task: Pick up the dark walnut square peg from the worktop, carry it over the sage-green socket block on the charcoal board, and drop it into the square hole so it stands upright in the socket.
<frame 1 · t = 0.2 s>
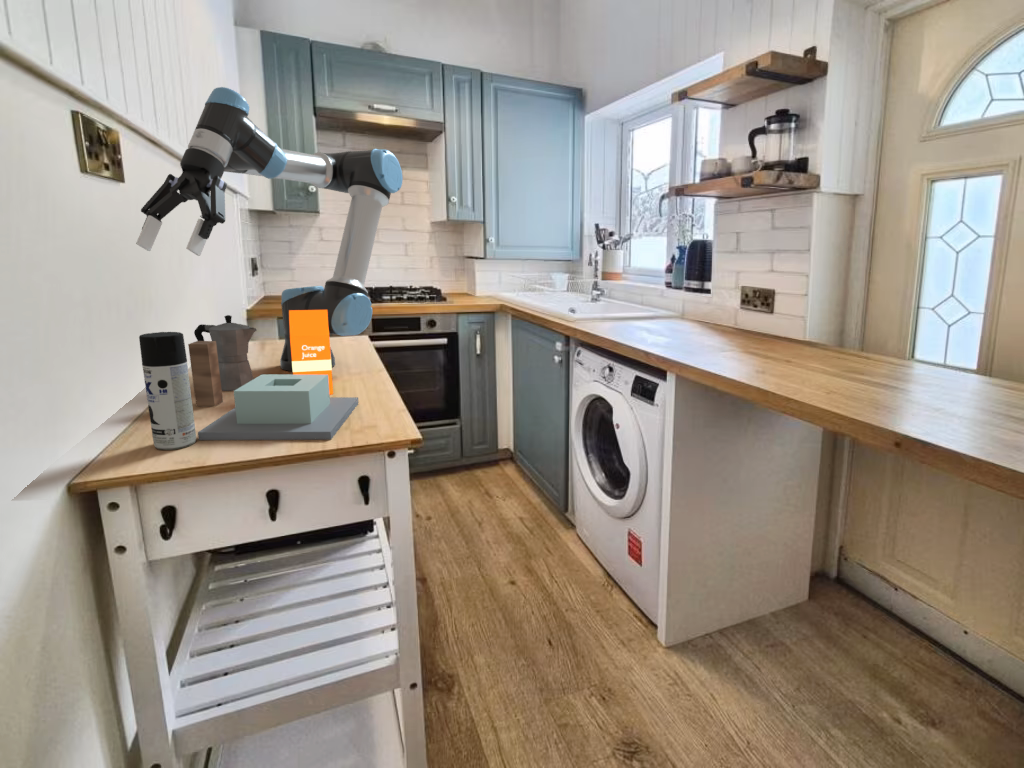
hand: (167, 249, 111), 34 cm above the counter, tool tilted 30°, fingers open, 13 cm apart
socket block: (287, 419, 115), on the counter
peg: (209, 404, 126), on the counter
orange juice: (314, 392, 138), on the counter
spray can: (176, 445, 101), on the counter
coffeepot: (231, 387, 141), on the counter
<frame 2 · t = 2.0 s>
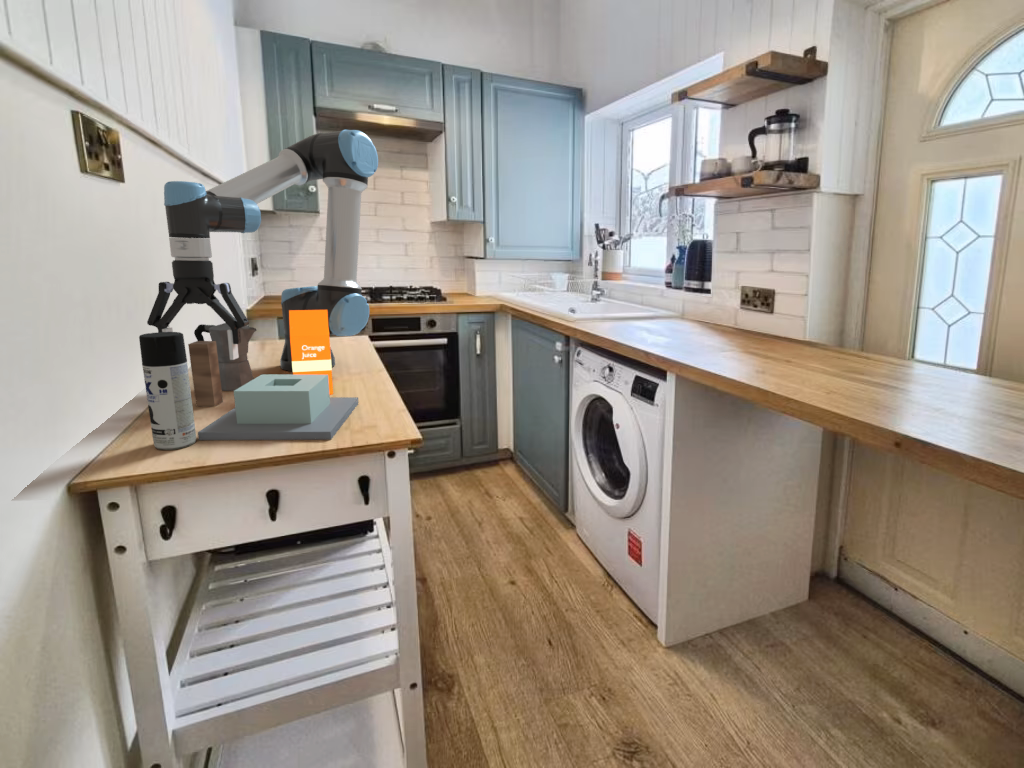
hand: (202, 358, 123), 10 cm above the counter, tool pointing down, fingers open, 13 cm apart
nothing on the counter moved.
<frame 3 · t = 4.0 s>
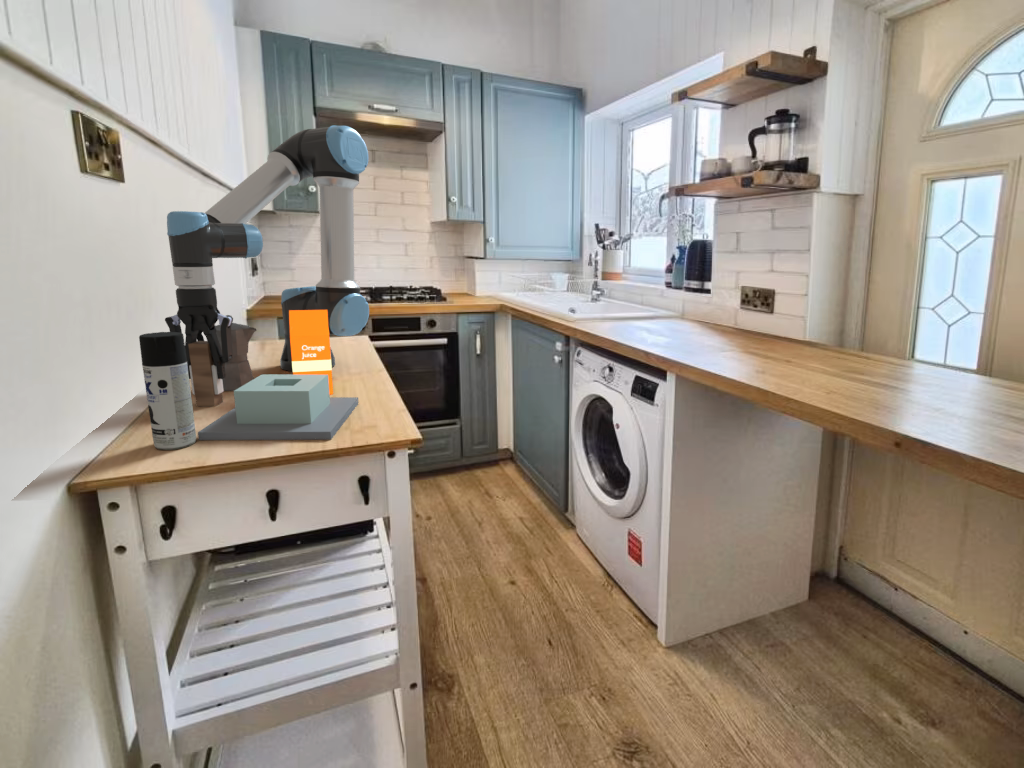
hand: (208, 392, 125), 3 cm above the counter, tool pointing down, fingers closed on peg, 4 cm apart
peg: (209, 404, 126), on the counter, touching gripper
everything else where it was.
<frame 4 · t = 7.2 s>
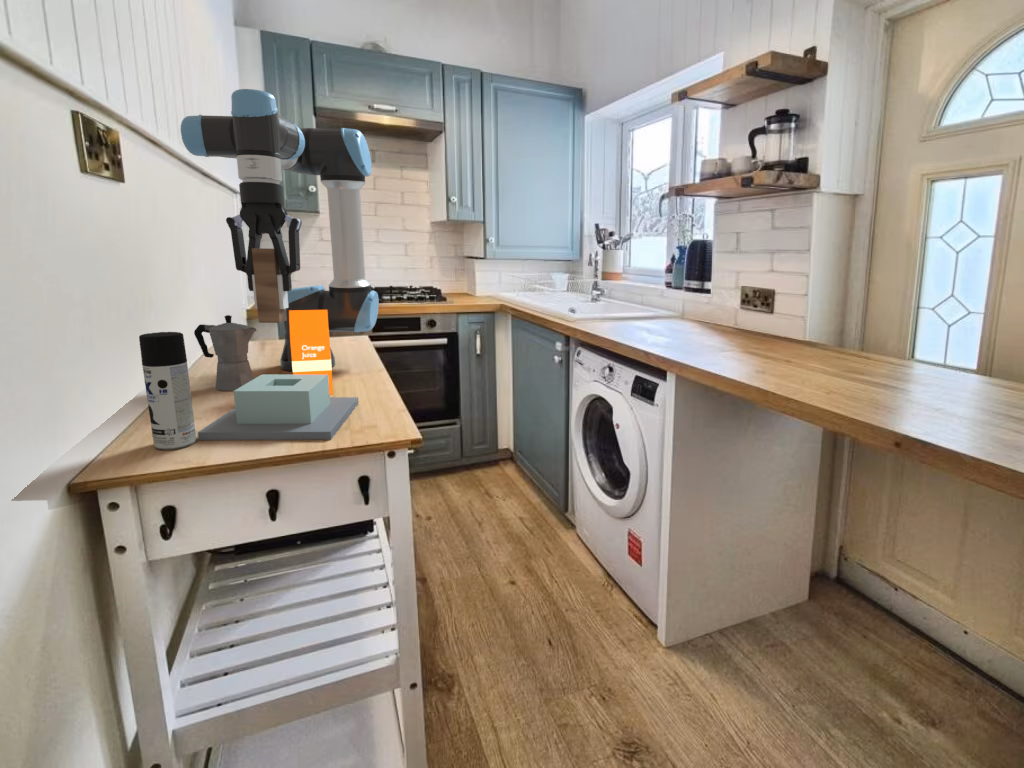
hand: (272, 307, 110), 23 cm above the counter, tool pointing down, fingers closed on peg, 4 cm apart
peg: (273, 321, 111), point 20 cm above the counter, touching gripper
everything else where it was.
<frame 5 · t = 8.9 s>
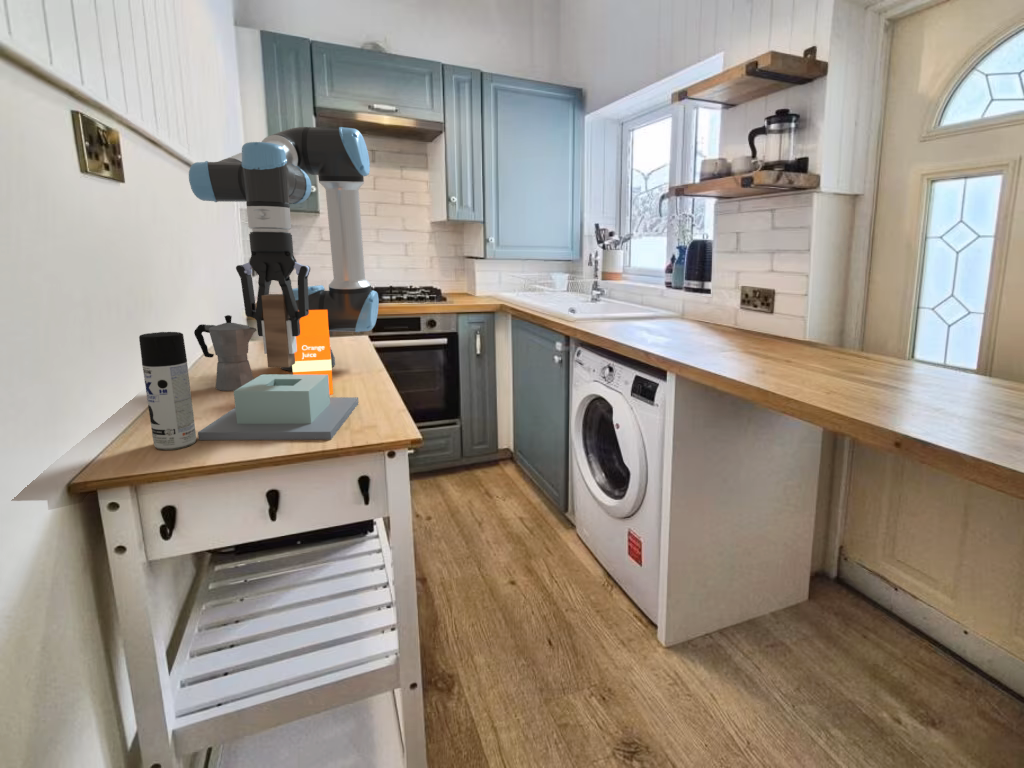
hand: (280, 352, 112), 14 cm above the counter, tool pointing down, fingers closed on peg, 4 cm apart
peg: (281, 365, 112), point 12 cm above the counter, touching gripper
everything else where it was.
when the fingers open (11 cm above the counter, at t = 10.5 s): peg drops 7 cm, resting on socket block.
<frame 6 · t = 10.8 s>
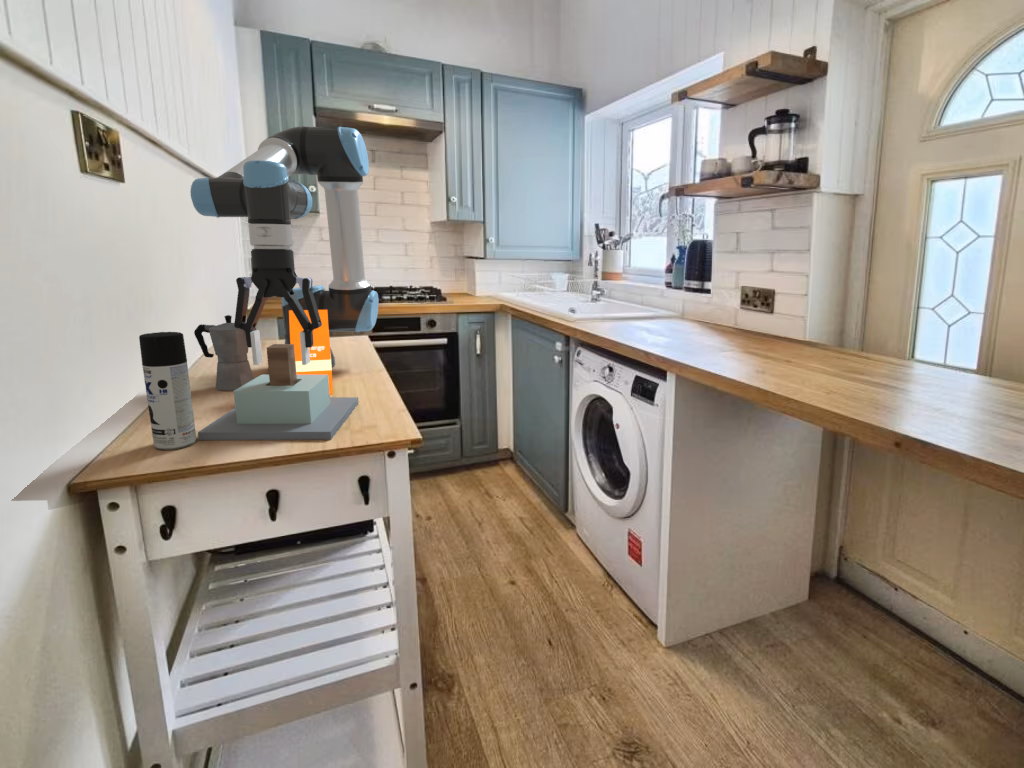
hand: (282, 363, 112), 12 cm above the counter, tool pointing down, fingers open, 9 cm apart
peg: (286, 413, 115), point 1 cm above the counter, touching socket block
everything else where it was.
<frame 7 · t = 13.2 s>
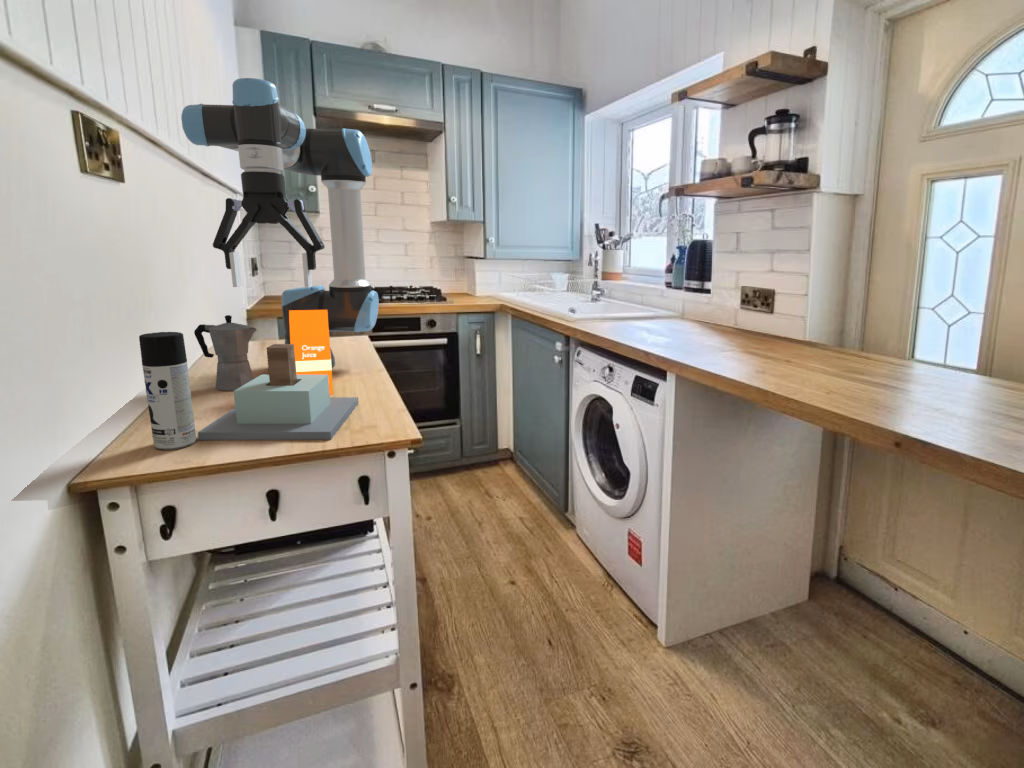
hand: (273, 286, 110), 27 cm above the counter, tool pointing down, fingers open, 13 cm apart
nothing on the counter moved.
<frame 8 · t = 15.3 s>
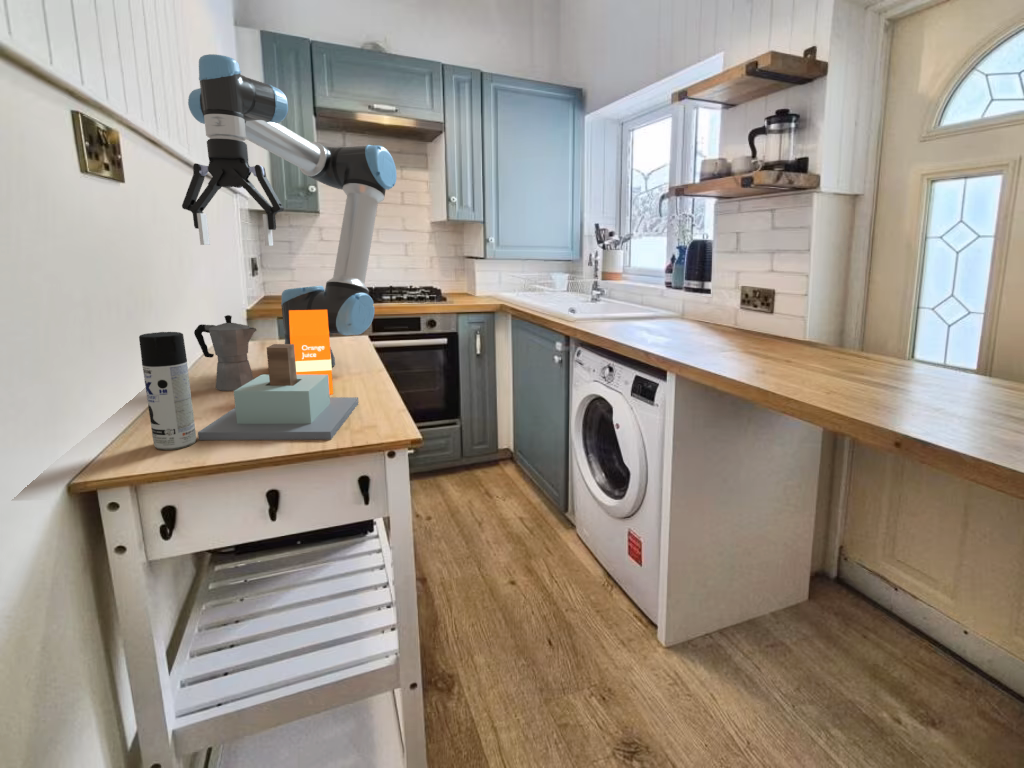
hand: (237, 245, 122), 35 cm above the counter, tool pointing down, fingers open, 13 cm apart
nothing on the counter moved.
at the end: peg 0.0 cm off-centre on the socket block, point 1.5 cm above the socket block's base; peg tilted 0°; the gripper is holding nothing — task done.
